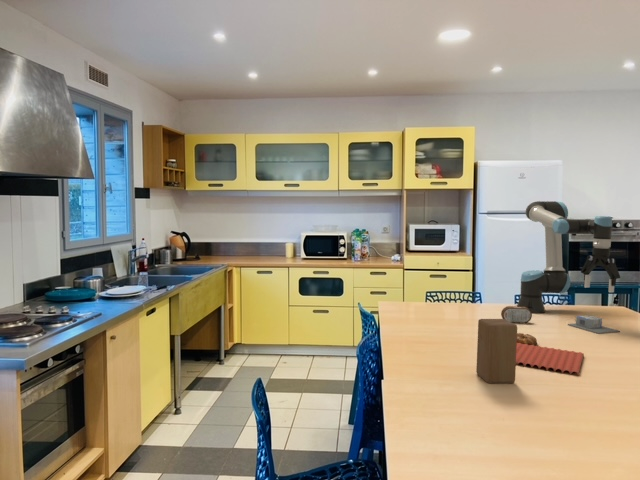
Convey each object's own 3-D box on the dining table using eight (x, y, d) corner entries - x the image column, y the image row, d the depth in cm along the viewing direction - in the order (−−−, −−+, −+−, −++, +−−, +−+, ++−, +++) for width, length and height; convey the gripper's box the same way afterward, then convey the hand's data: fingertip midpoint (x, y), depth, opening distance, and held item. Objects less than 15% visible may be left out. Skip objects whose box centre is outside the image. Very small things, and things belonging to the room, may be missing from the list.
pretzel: (530, 349, 202) (531, 340, 202) (505, 343, 210) (505, 335, 209) (541, 343, 210) (541, 335, 210) (516, 338, 218) (517, 330, 218)
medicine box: (575, 316, 243) (588, 315, 246) (575, 324, 243) (588, 323, 246) (589, 319, 236) (602, 318, 238) (588, 328, 236) (601, 327, 239)
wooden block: (475, 373, 169) (477, 318, 167) (502, 373, 170) (504, 318, 168) (487, 384, 159) (489, 325, 157) (516, 383, 160) (518, 325, 158)
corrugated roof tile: (578, 377, 168) (578, 372, 168) (495, 363, 183) (496, 358, 183) (583, 357, 192) (583, 352, 192) (510, 346, 207) (510, 341, 206)
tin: (530, 322, 250) (530, 306, 249) (532, 323, 247) (532, 307, 246) (500, 321, 251) (501, 305, 251) (502, 322, 248) (502, 306, 247)
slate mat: (567, 325, 245) (567, 323, 245) (588, 323, 249) (588, 322, 249) (598, 333, 228) (598, 332, 228) (619, 331, 233) (619, 330, 232)
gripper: (574, 245, 246) (572, 285, 248) (619, 250, 223) (616, 294, 224) (585, 245, 249) (583, 285, 250) (630, 249, 225) (627, 294, 227)
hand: (598, 289), depth 237 cm, fingers open, 13 cm apart
